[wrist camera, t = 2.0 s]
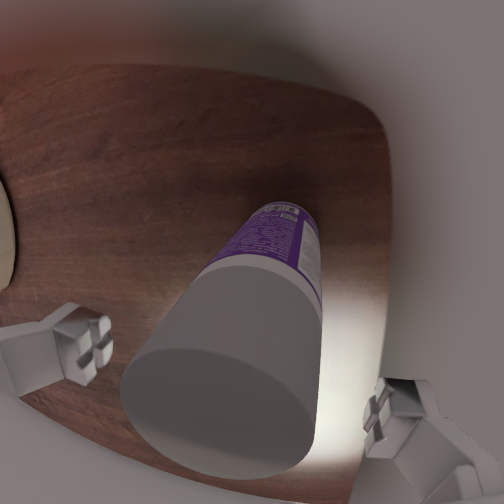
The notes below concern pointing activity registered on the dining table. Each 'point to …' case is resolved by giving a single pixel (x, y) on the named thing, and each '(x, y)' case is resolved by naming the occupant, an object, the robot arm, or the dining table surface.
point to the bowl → (6, 240)
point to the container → (238, 355)
